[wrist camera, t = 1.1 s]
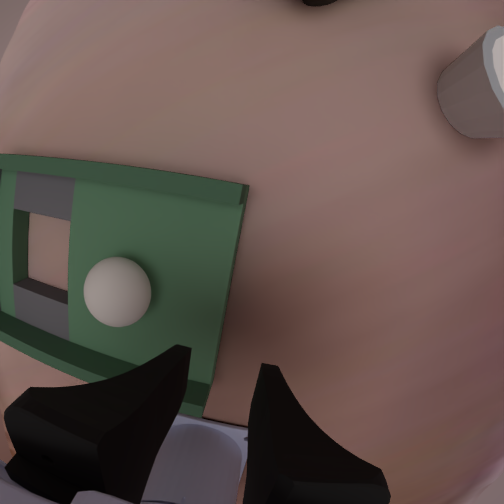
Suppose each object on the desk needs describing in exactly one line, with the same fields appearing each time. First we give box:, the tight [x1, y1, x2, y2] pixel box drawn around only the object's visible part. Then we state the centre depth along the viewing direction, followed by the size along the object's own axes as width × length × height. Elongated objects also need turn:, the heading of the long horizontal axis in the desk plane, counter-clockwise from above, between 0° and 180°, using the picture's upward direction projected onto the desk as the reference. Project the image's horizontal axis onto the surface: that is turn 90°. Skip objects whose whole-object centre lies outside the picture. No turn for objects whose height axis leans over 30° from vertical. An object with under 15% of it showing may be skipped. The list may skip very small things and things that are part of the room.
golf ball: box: [84, 257, 151, 327], centre depth 17 cm, size 4×4×4 cm
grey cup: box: [437, 26, 504, 138], centre depth 13 cm, size 7×7×7 cm
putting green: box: [0, 154, 249, 418], centre depth 16 cm, size 16×20×10 cm
